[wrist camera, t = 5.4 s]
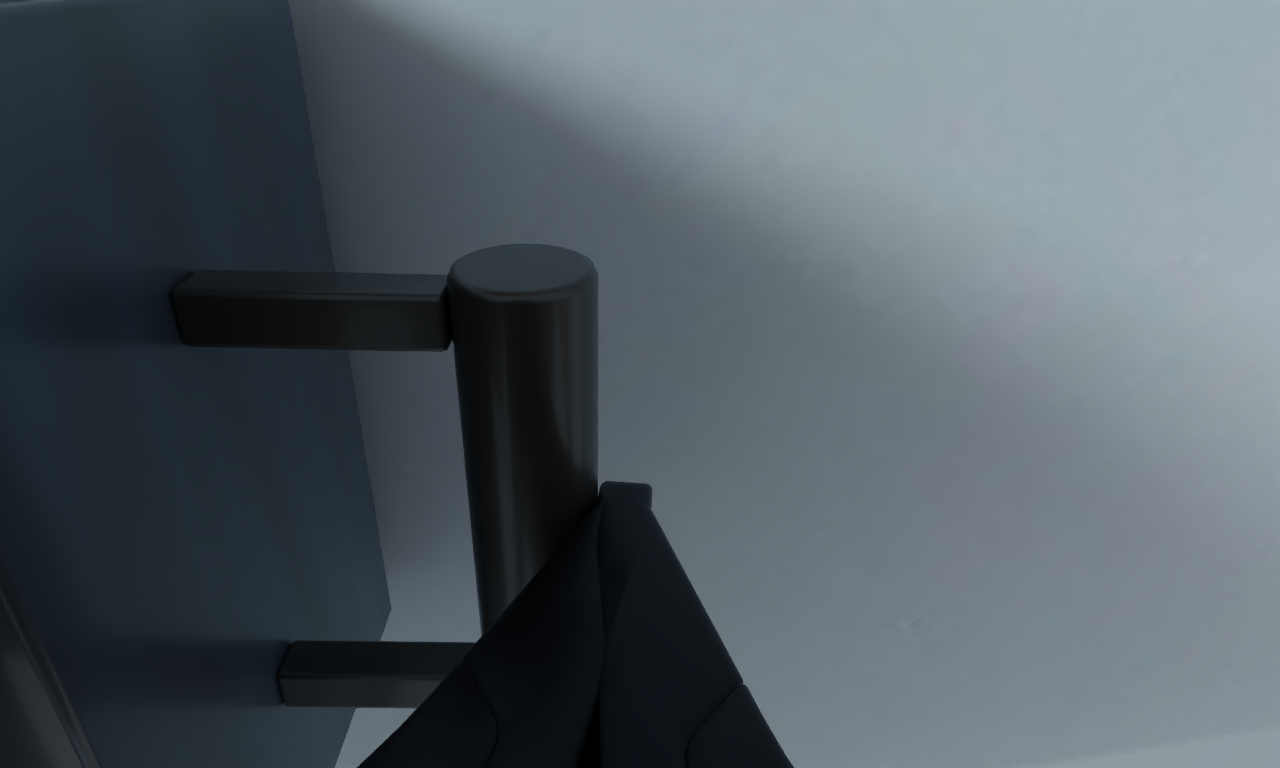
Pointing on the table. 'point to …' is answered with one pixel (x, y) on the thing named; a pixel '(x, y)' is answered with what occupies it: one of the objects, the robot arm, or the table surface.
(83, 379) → the drawer
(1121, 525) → the table surface
